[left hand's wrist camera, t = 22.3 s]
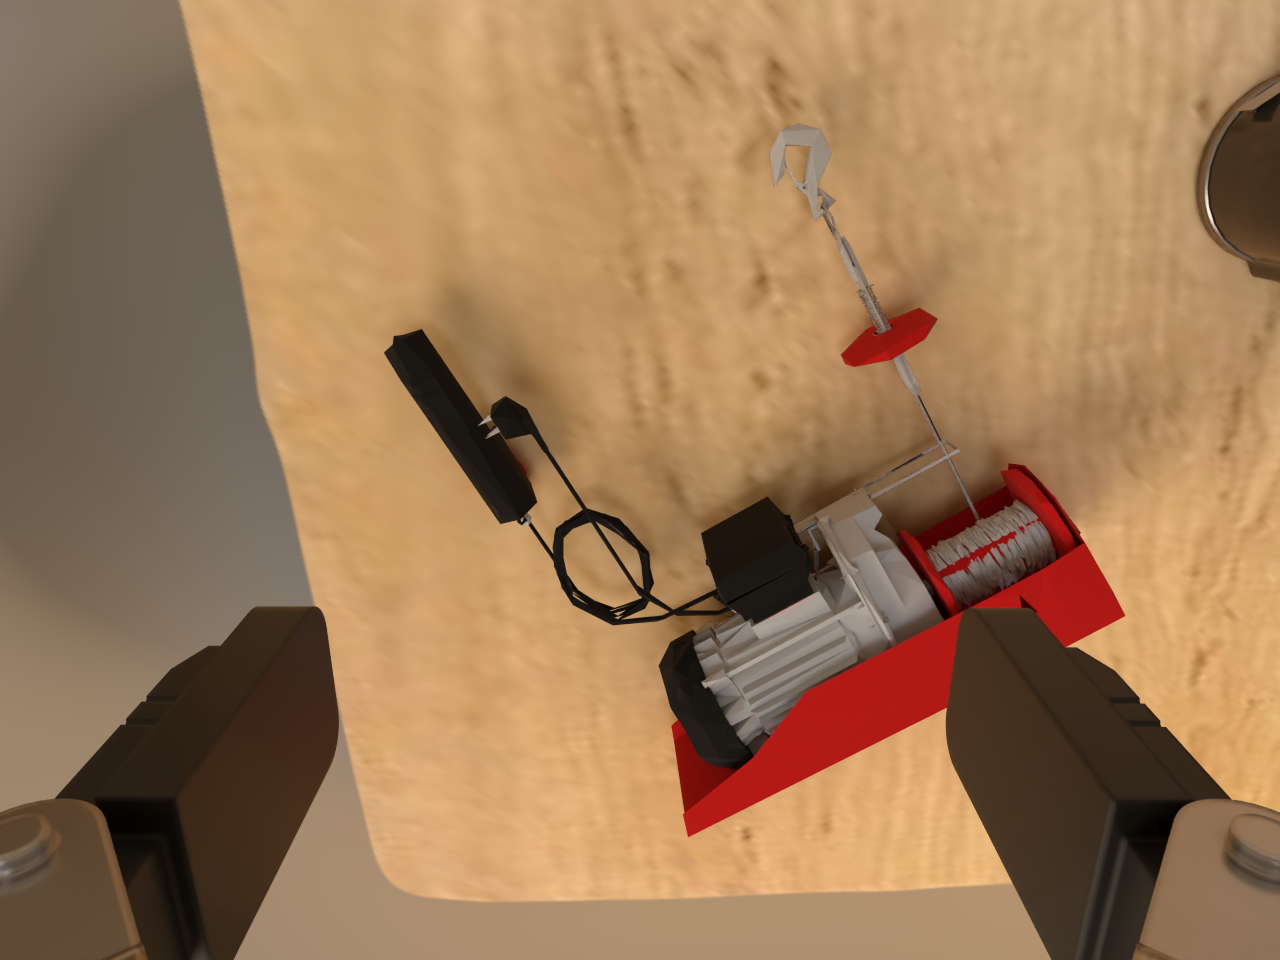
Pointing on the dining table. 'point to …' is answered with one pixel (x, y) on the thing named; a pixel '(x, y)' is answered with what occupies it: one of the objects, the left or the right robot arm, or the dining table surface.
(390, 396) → the dining table surface
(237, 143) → the dining table surface
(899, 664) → the electric hoist
